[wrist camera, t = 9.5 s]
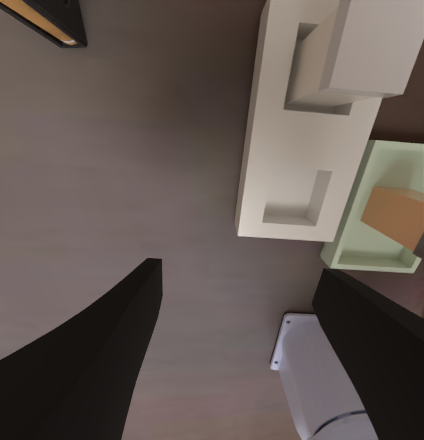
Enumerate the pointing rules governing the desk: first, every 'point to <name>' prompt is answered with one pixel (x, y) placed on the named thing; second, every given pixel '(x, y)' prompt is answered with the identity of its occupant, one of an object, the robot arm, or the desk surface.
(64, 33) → the ammunition clip
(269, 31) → the block
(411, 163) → the parts tray
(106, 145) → the desk surface
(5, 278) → the desk surface
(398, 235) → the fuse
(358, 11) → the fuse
